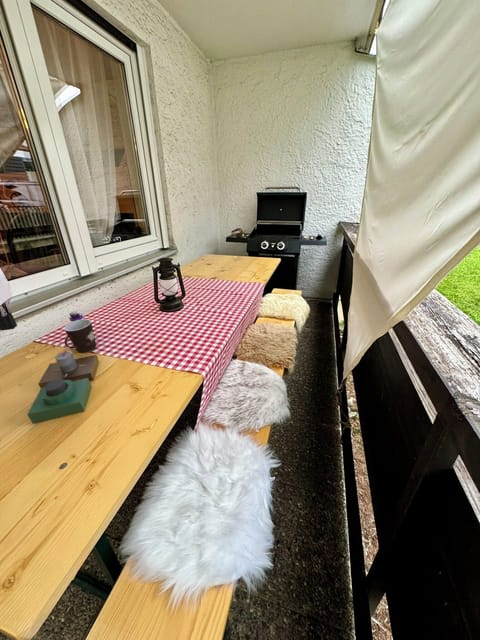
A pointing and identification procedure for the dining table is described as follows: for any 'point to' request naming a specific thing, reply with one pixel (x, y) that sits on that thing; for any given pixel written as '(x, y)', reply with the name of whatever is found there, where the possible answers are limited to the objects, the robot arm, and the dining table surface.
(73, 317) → the potion bottle
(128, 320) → the dining table surface
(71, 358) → the dial
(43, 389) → the green flat block
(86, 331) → the coffee mug
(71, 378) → the dial panel
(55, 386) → the dark grey short cylinder
